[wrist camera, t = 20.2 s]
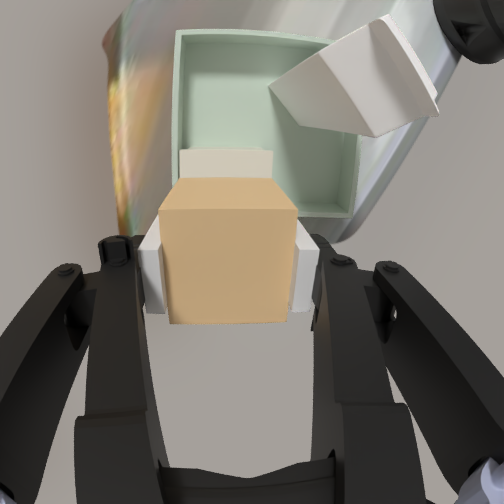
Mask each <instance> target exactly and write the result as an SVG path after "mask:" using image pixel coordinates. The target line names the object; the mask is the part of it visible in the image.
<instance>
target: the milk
mask: <svg viewBox="0 0 504 504" xmlns="http://www.w3.org/2000/svg"><path fill="white" fill-rule="evenodd" d="M268 86H269V88H270V89H271V90H272V91H273V93H274V94H275V95H276V96H277V98H278V99H279V100H280V101H281V103H282V104H283V105H284V107H285V108H286V109H287V111H288V112H289V113H290V114H291V116H292V117H293V118H294V120H295V121H296V122H297V124H298V125H299V126H305V127H313V128H320V129H327V130H334V131H340V132H346V133H352V134H358V135H363V136H368V137H373V138H377V137H379V136H382V135H384V134H386V133H388V132H390V131H392V130H395V129H397V128H399V127H401V126H403V125H405V124H408V123H410V122H412V121H414V120H417V119H419V118H421V117H423V116H431V117H438V116H439V114H440V112H439V110H438V108H437V106H436V103H435V101H434V100H435V98H436V96H437V91H436V89H435V87H434V85H433V84H432V82H431V80H430V78H429V76H428V74H427V72H426V71H425V69H424V67H423V65H422V64H421V62H420V60H419V59H418V57H417V55H416V54H415V52H414V50H413V49H412V47H411V45H410V44H409V42H408V41H407V39H406V38H405V36H404V35H403V33H402V32H401V30H400V29H399V27H398V26H397V24H396V23H395V21H394V20H393V19H392V17H391V16H390V15H389V14H387V15H385V16H383V17H381V18H379V19H376V20H374V21H372V22H371V23H369V24H367V25H365V26H363V27H361V28H359V29H357V30H355V31H353V32H352V33H350V34H348V35H346V36H344V37H343V38H341V39H339V40H337V41H336V42H334V43H332V44H330V45H329V46H327V47H325V48H324V49H322V50H320V51H319V52H317V53H315V54H314V55H312V56H311V57H309V58H307V59H306V60H304V61H303V62H301V63H300V64H298V65H297V66H295V67H294V68H292V69H291V70H289V71H288V72H286V73H285V74H283V75H282V76H280V77H279V78H278V79H276V80H275V81H273V82H272V83H271V84H269V85H268Z"/></svg>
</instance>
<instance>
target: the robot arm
mask: <svg viewBox="0 0 504 504" xmlns="http://www.w3.org/2000/svg"><path fill="white" fill-rule="evenodd" d="M433 2H434V8H435V12H436V15H437V18H438V21H439V23H440V25H441V27H442V29H443V31H444V33H445V34H446V36H447V37H448V39H449V40H450V42H451V43H452V44H453V46H454V47H455V48H456V49H457V50H458V51H459V52H460V53H461V54H462V55H463V56H465V57H466V58H467V59H469V60H470V61H472V62H475V63H478V64H493V63H496V62H498V61H500V60H502V59H504V0H433ZM98 248H99V254H100V260H101V269H100V271H99V272H94V273H88V274H83V272H82V268H81V266H80V265H78V264H73V263H71V264H68V263H66V264H62V265H60V266H59V267H57V268H55V269H54V270H53V271H51V273H50V274H49V275H48V276H47V277H46V279H45V280H44V281H43V282H42V283H41V284H40V286H39V287H38V288H37V289H36V290H35V292H34V293H33V294H32V295H31V297H30V298H29V299H28V301H27V302H26V303H25V304H24V306H23V307H22V308H21V309H20V311H19V312H18V313H17V315H16V316H15V317H14V319H13V320H12V321H11V323H10V324H9V325H8V327H7V328H6V330H5V331H4V332H3V334H2V335H1V337H0V504H34V503H35V500H36V498H37V495H38V492H39V488H40V485H41V482H42V478H43V474H44V470H45V466H46V463H47V459H48V456H49V452H50V449H51V446H52V442H53V439H54V436H55V433H56V430H57V426H58V424H59V420H60V418H61V415H62V412H63V409H64V406H65V403H66V401H67V398H68V395H69V393H70V390H71V387H72V384H73V382H74V380H75V377H76V374H77V372H78V369H79V367H80V365H81V362H82V360H83V357H84V355H85V353H86V350H87V348H88V346H89V352H88V364H87V379H86V398H85V399H86V400H85V415H84V416H78V417H77V418H76V420H75V427H74V467H75V486H76V498H77V504H435V503H433V502H431V501H429V500H427V499H426V497H425V490H424V483H423V476H422V470H421V464H420V458H419V453H418V448H417V443H416V438H415V433H414V428H413V424H412V419H411V415H410V412H409V409H410V411H411V412H412V415H413V416H414V418H415V420H416V422H417V424H418V426H419V428H420V430H421V432H422V434H423V436H424V438H425V440H426V442H427V444H428V446H429V448H430V450H431V452H432V454H433V456H434V458H435V460H436V463H437V465H438V466H439V468H440V470H441V472H442V474H443V476H444V477H445V479H446V480H447V482H448V483H449V484H450V486H451V487H452V489H453V490H454V491H455V492H456V493H457V494H458V496H459V497H458V500H456V502H455V503H454V504H504V377H503V376H502V375H501V374H500V372H499V371H498V370H497V369H496V367H495V366H494V365H493V364H492V363H491V361H490V360H489V359H488V358H487V356H486V355H485V354H484V353H483V352H482V350H481V349H480V348H479V347H478V346H477V345H476V343H475V342H474V341H473V340H472V339H471V338H470V336H469V335H468V334H467V333H466V332H465V331H464V330H463V329H462V327H461V326H460V325H459V324H458V323H457V322H456V321H455V320H454V319H453V317H452V316H451V315H450V314H449V313H448V312H447V311H446V310H445V309H444V308H443V307H442V306H441V305H440V304H439V303H438V301H437V300H436V299H435V298H434V297H433V296H432V295H431V294H430V293H429V292H428V291H427V290H426V289H425V288H424V287H423V286H422V285H421V284H420V283H419V282H418V281H417V280H416V279H415V278H414V277H413V276H412V275H411V274H410V273H409V272H408V271H407V270H406V269H405V268H404V267H402V266H401V265H399V264H397V263H396V262H392V261H380V262H378V263H376V266H375V270H374V272H373V271H366V270H360V269H358V267H357V265H356V262H355V261H354V260H353V259H351V258H350V257H347V256H344V255H339V254H337V253H336V252H335V250H334V249H333V248H332V247H331V245H330V244H329V243H328V242H327V240H326V239H325V238H323V237H322V236H320V235H318V234H308V233H307V231H306V230H305V228H304V227H303V226H302V224H301V223H300V221H299V220H298V219H297V228H296V239H295V245H294V255H293V264H292V273H291V282H290V290H289V299H288V303H289V306H290V309H291V311H292V312H308V311H310V308H311V302H312V300H313V302H314V304H315V309H314V315H313V320H312V326H311V331H313V330H314V383H313V385H314V386H313V423H312V425H313V426H312V447H311V460H310V461H309V462H302V463H297V464H294V465H291V466H288V467H285V468H282V469H280V470H276V471H273V472H270V473H267V474H264V475H261V476H257V477H254V478H241V477H235V476H230V475H224V474H219V473H214V472H210V471H205V470H201V469H189V468H188V469H187V468H170V466H169V462H168V458H167V454H166V450H165V445H164V441H163V436H162V431H161V427H160V421H159V416H158V411H157V406H156V400H155V395H154V388H153V382H152V376H151V369H150V362H149V355H148V347H147V339H146V330H145V321H144V314H143V309H142V308H143V305H144V303H145V306H146V312H147V313H153V314H155V313H156V314H165V311H166V308H167V303H168V302H167V294H166V285H165V275H164V265H163V254H162V242H160V229H159V215H157V217H156V219H155V220H154V222H153V224H152V225H151V227H150V229H149V231H148V232H147V234H146V235H135V236H133V237H132V238H131V237H129V236H125V235H116V236H110V237H107V238H105V239H103V240H101V241H100V242H99V243H98ZM395 310H396V312H397V316H396V318H395V317H394V313H395ZM386 367H387V368H388V370H389V372H390V374H391V376H392V377H393V379H394V381H395V383H396V385H397V386H398V388H399V390H400V392H401V394H402V396H403V397H404V400H405V401H406V403H407V405H408V406H407V405H406V404H404V403H395V402H394V399H393V395H392V391H391V387H390V382H389V378H388V373H387V369H386ZM408 407H409V409H408Z"/></svg>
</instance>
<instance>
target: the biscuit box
mask: <svg viewBox="0 0 504 504" xmlns="http://www.w3.org/2000/svg"><path fill="white" fill-rule="evenodd" d="M158 215H159V229H160V242H162V254H163V265H164V275H165V285H166V294H167V302H168V303H167V307H168V314H169V321H170V324H248V323H274V322H275V323H276V322H286V321H287V313H288V305H289V303H288V299H289V290H290V282H291V273H292V264H293V255H294V245H295V239H296V228H297V217H298V209H297V207H296V206H295V205H294V204H293V203H292V201H291V200H290V199H289V198H288V197H287V195H286V194H285V193H284V192H283V191H282V189H281V188H280V187H279V186H278V185H277V184H276V182H275V181H274V180H273V179H272V178H236V177H209V178H179V179H178V181H177V182H176V184H175V185H174V187H173V188H172V190H171V191H170V193H169V194H168V196H167V197H166V199H165V200H164V202H163V203H162V205H161V206H160V208H159V209H158Z"/></svg>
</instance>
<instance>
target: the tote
mask: <svg viewBox="0 0 504 504" xmlns="http://www.w3.org/2000/svg"><path fill="white" fill-rule="evenodd" d="M334 42H336V41H335V40H330V39H324V38H318V37H312V36H305V35H298V34H290V33H282V32H271V31H259V30H241V29H189V30H176V38H175V52H174V70H173V94H172V188H173V187H174V185H175V184H176V182H177V181H178V179H179V178H180V154H179V150H181V149H188V148H190V147H258V148H262V149H263V150H271V151H273V165H272V179H273V180H274V181H275V182H276V184H277V185H278V186H279V187H280V188H281V189H282V191H283V192H284V193H285V194H286V195H287V197H288V198H289V199H290V200H291V201H292V203H293V204H294V205H295V206H296V207H297V209H298V217H323V218H351V219H352V217H353V211H354V204H355V197H356V189H357V181H358V173H359V164H360V155H361V145H362V135H358V134H352V133H346V132H340V131H334V130H327V129H320V128H313V127H305V126H299V125H298V124H297V122H296V121H295V120H294V118H293V117H292V116H291V114H290V113H289V112H288V111H287V109H286V108H285V107H284V105H283V104H282V103H281V101H280V100H279V99H278V98H277V96H276V95H275V94H274V93H273V91H272V90H271V89H270V88H269V86H268V85H269V84H271V83H272V82H273V81H275V80H276V79H278V78H279V77H280V76H282V75H283V74H285V73H286V72H288V71H289V70H291V69H292V68H294V67H295V66H297V65H298V64H300V63H301V62H303V61H304V60H306V59H307V58H309V57H311V56H312V55H314V54H315V53H317V52H319V51H320V50H322V49H324V48H325V47H327V46H329V45H330V44H332V43H334Z"/></svg>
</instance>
